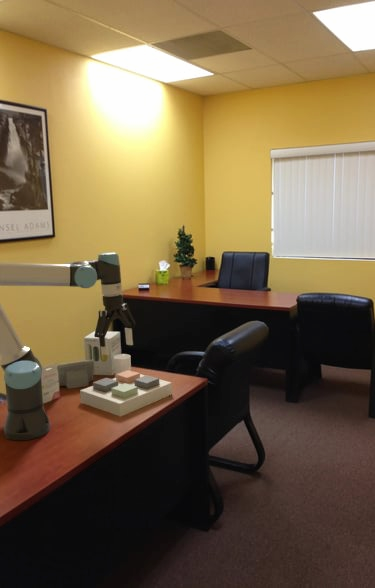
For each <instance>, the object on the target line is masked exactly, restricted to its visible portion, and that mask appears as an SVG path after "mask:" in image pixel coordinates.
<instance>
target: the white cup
mask: <svg viewBox="0 0 375 588" xmlns="http://www.w3.org/2000/svg"><path fill="white" fill-rule="evenodd" d="M131 361H132V360H131V355H130V354H127V353H121V354H118V355H115V356H113V364H114V372H115V374H114V378H116V374H119V373H121V372H124V371H127V370H130V371H132V370H131V369H132V364H131Z"/></svg>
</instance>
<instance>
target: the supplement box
mask: <svg viewBox="0 0 375 588" xmlns="http://www.w3.org/2000/svg"><path fill="white" fill-rule="evenodd" d="M95 331H96V330H94V331H93V332H91V333H89V334H87V335H86V336H84V337H83V343H84V358H85V359H84V360H94V376H95V375H96V376H115V372H114V364H113V356H115V355H118V354H122V346H121V345H122V343H121V331H109V330H108V331H107V334H106V336H105V337H107V343H108V353H109V355H103V354H102V350H101V346H100V341H99V338H98V337H95V336H94V335H95ZM102 335H103V334H102Z"/></svg>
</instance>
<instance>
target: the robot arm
mask: <svg viewBox="0 0 375 588" xmlns="http://www.w3.org/2000/svg"><path fill="white" fill-rule="evenodd" d="M97 281H100V284H101V285H100V287H101V295H102V305H103V306H104V310H98V318H97V323H96V327H95V330H94V331H95V335H94V336H95V337H98V338H99V341H100V346H101V350H102V354H103V355H109V353H108V343H107V337H105V336H106V334H107V331H108V332H109V329H110V327H111V323H112V322H114V321H115V320H117V319H119V320H120V321H121V322H122V324H123V325H124V326H125V327H124V333H125V334H124V335H125V343H126V345H128V346H133V345H134V341H133V335H134V334H133V333H134V332H133V329H135V326H136V324H137V323H136V320H135V319H134V317H133V314H132V313H131V309H130V307H129V303H124V296H123V287H122V274H121V264H120V258H119V254H118V253H117V252H105V253H99V254H98V256H97V259H94V260H93V259H92V260H79V261H72V262H67V263H66V264H64V263H25V262H23V263H22V262H0V287H4V286H5V287H7V286H8V287H13V286H14V287H73V288H75V287H76V288H77V287H78V288H81V289H90V288H92V287H93V286H95V285H96V283H97ZM9 318H10V317H8V314H7V313H6V312H5V309H4V307H3V306H2V304H1V303H0V367H1V368H2V371H3V372H4V376H3V379H4V380H3V381H4V383H5V395H6V397H5V398H6V407H7V408H6V409H7V414H6V418H5V423H4V426H3V435H4V437H5V438H6V439H7V440H11V441H30V440H34V439H37V438H39V437H42V436H45V435H46V434H47V433H49V431H50V429H51V424H50V423H51V422H50V420H49V417H48V415H47V413H46V411H45V408H44V404H43V397H42V383H41V375H42V367H43V366H42V364H41V362H40V360H39V359H38V358H37V356H35V355H34V352H33V351H32V349H31V347H30V346H25V345H24V344H23V342H22V340H21V338H20V336H19V335H18V333H17V331H16V329H15V327H14V326H13V325H12V322H11V320H10V319H9ZM102 334H103V335H102Z"/></svg>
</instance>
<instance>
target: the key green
mask: <svg viewBox="0 0 375 588" xmlns="http://www.w3.org/2000/svg"><path fill="white" fill-rule="evenodd" d="M111 389H112V395H114V396H117V397H120V398H123V399H125V398H128V397H130V396H133V395H135V394H138V387H137V386H133V385H130V384H126V383H124V384H121V385H119V386H116V387H113V388H111Z"/></svg>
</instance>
